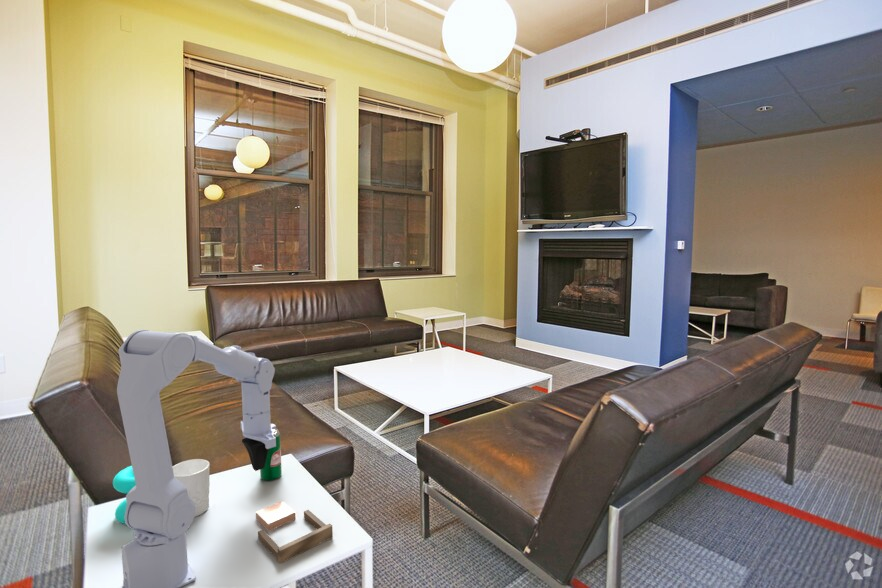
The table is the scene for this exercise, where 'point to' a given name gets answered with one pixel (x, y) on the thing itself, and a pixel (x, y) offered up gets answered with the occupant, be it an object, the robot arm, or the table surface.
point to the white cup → (195, 482)
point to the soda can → (273, 461)
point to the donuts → (123, 490)
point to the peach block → (275, 515)
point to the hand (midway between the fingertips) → (258, 468)
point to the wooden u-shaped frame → (301, 543)
